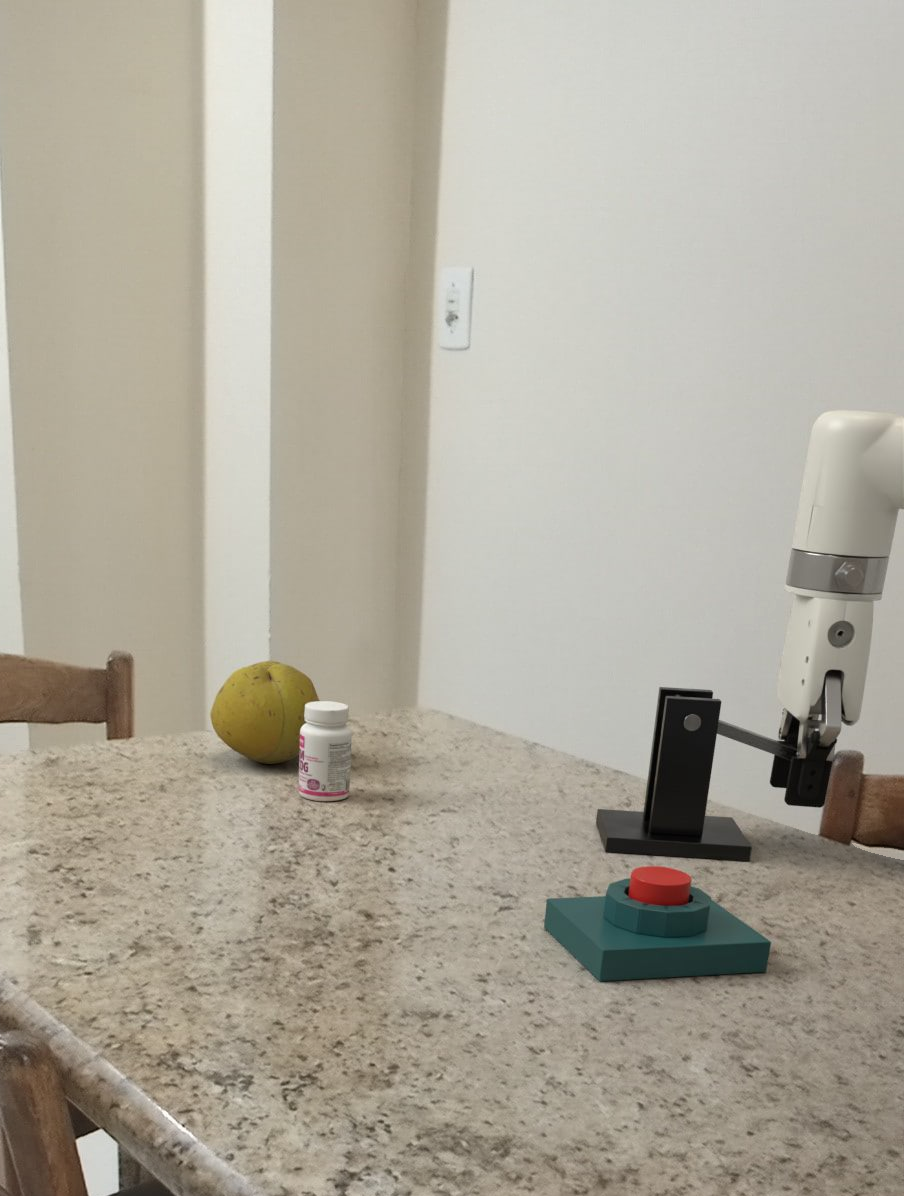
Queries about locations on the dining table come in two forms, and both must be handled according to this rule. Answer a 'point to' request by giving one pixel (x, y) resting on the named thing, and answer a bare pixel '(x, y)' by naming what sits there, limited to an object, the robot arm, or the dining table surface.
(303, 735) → the pill bottle
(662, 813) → the switch bracket
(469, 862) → the dining table surface
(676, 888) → the stop button
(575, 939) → the button block
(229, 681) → the fruit
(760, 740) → the switch lever
